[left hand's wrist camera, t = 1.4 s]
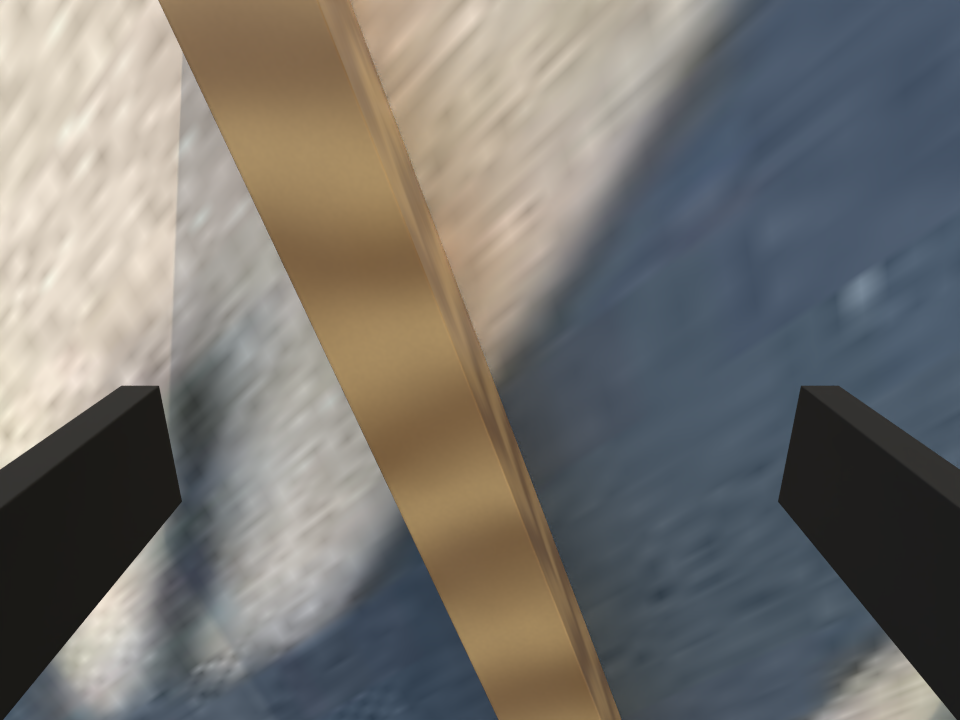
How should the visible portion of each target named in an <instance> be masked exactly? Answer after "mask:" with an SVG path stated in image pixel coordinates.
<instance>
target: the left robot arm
mask: <svg viewBox="0 0 960 720" xmlns="http://www.w3.org/2000/svg"><path fill="white" fill-rule="evenodd" d="M181 502H182V500H181V495H180V490H179V485H178V480H177V475H176V469H175V464H174V459H173V454H172V449H171V444H170V439H169V434H168V429H167V424H166V419H165V414H164V409H163V404H162V399H161V394H160V389H159V386H120V387H119V388H118V389H116V390H115V391H113V392H112V393H110V394H109V395H107V396H106V397H105V398H103V399H102V400H100V401H99V402H97V403H96V404H94V405H93V406H92V407H90V408H89V409H87V410H86V411H84V412H83V413H81V414H80V415H79V416H77V417H76V418H74V419H73V420H71V421H70V422H68V423H67V424H66V425H64V426H63V427H61V428H60V429H58V430H57V431H55V432H54V433H53V434H51V435H50V436H48V437H47V438H45V439H44V440H42V441H41V442H40V443H38V444H37V445H35V446H34V447H32V448H31V449H29V450H28V451H27V452H25V453H24V454H22V455H21V456H19V457H18V458H16V459H15V460H14V461H12V462H11V463H9V464H8V465H6V466H5V467H3V468H2V469H0V720H3V719H4V718H5V717H6V715H7V714H8V713H9V712H10V711H11V709H12V708H13V707H14V706H15V705H16V703H17V702H18V701H19V700H20V698H21V697H22V696H23V695H24V694H25V692H26V691H27V690H28V689H29V687H30V686H31V685H32V684H33V683H34V681H35V680H36V679H37V678H38V676H39V675H40V674H41V673H42V672H43V670H44V669H45V668H46V667H47V665H48V664H49V663H50V662H51V661H52V659H53V658H54V657H55V656H56V654H57V653H58V652H59V651H60V650H61V648H62V647H63V646H64V645H65V644H66V642H67V641H68V640H69V639H70V637H71V636H72V635H73V634H74V633H75V631H76V630H77V629H78V628H79V626H80V625H81V624H82V623H83V622H84V620H85V619H86V618H87V617H88V615H89V614H90V613H91V612H92V611H93V609H94V608H95V607H96V606H97V604H98V603H99V602H100V601H101V600H102V598H103V597H104V596H105V595H106V593H107V592H108V591H109V590H110V589H111V587H112V586H113V585H114V584H115V583H116V581H117V580H118V579H119V578H120V576H121V575H122V574H123V573H124V572H125V570H126V569H127V568H128V567H129V565H130V564H131V563H132V562H133V561H134V559H135V558H136V557H137V556H138V554H139V553H140V552H141V551H142V550H143V548H144V547H145V546H146V545H147V543H148V542H149V541H150V540H151V539H152V537H153V536H154V535H155V534H156V532H157V531H158V530H159V529H160V528H161V526H162V525H163V524H164V523H165V522H166V520H167V519H168V518H169V517H170V515H171V514H172V513H173V512H174V511H175V509H176V508H177V507H178V506H179V504H180V503H181ZM778 502H779V503H780V504H781V506H782V507H783V508H784V509H785V511H786V512H787V513H788V514H789V515H790V517H791V518H792V519H793V520H794V522H795V523H796V524H797V525H798V526H799V528H800V529H801V530H802V531H803V532H804V534H805V535H806V536H807V537H808V539H809V540H810V541H811V542H812V543H813V545H814V546H815V547H816V548H817V550H818V551H819V552H820V553H821V554H822V556H823V557H824V558H825V559H826V561H827V562H828V563H829V564H830V565H831V567H832V568H833V569H834V570H835V572H836V573H837V574H838V575H839V576H840V578H841V579H842V580H843V581H844V583H845V584H846V585H847V586H848V587H849V589H850V590H851V591H852V592H853V593H854V595H855V596H856V597H857V598H858V600H859V601H860V602H861V603H862V604H863V606H864V607H865V608H866V609H867V611H868V612H869V613H870V614H871V615H872V617H873V618H874V619H875V620H876V622H877V623H878V624H879V625H880V626H881V628H882V629H883V630H884V631H885V633H886V634H887V635H888V636H889V637H890V639H891V640H892V641H893V642H894V644H895V645H896V646H897V647H898V648H899V650H900V651H901V652H902V653H903V654H904V656H905V657H906V658H907V659H908V661H909V662H910V663H911V664H912V665H913V667H914V668H915V669H916V670H917V672H918V673H919V674H920V675H921V676H922V678H923V679H924V680H925V681H926V683H927V684H928V685H929V686H930V687H931V689H932V690H933V691H934V692H935V694H936V695H937V696H938V697H939V698H940V700H941V701H942V702H943V703H944V705H945V706H946V707H947V708H948V709H949V711H950V712H951V713H952V714H953V715H954V717H955V718H956V719H957V720H960V469H958V468H957V467H955V466H954V465H952V464H951V463H949V462H948V461H946V460H945V459H944V458H942V457H941V456H939V455H938V454H936V453H935V452H933V451H932V450H931V449H929V448H928V447H926V446H925V445H923V444H922V443H920V442H919V441H918V440H916V439H915V438H913V437H912V436H910V435H909V434H907V433H906V432H905V431H903V430H902V429H900V428H899V427H897V426H896V425H894V424H893V423H892V422H890V421H889V420H887V419H886V418H884V417H883V416H881V415H880V414H879V413H877V412H876V411H874V410H873V409H871V408H870V407H868V406H867V405H866V404H864V403H863V402H861V401H860V400H858V399H857V398H855V397H854V396H853V395H851V394H850V393H848V392H847V391H845V390H844V389H842V388H841V387H840V386H801V389H800V394H799V399H798V404H797V409H796V414H795V419H794V424H793V429H792V434H791V439H790V444H789V449H788V454H787V459H786V464H785V469H784V474H783V480H782V485H781V490H780V495H779V500H778Z"/></svg>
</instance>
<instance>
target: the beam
mask: <svg viewBox="0 0 960 720" xmlns="http://www.w3.org/2000/svg"><path fill="white" fill-rule="evenodd" d="M159 3H160V5H161V7H162V9H163V11H164V13H165V15H166V17H167V19H168V22H169V24H170V26H171V28H172V30H173V32H174V34H175V36H176V38H177V41H178V43H179V45H180V47H181V49H182V51H183V53H184V55H185V58H186V60H187V62H188V64H189V66H190V68H191V70H192V72H193V74H194V77H195V79H196V81H197V83H198V85H199V87H200V89H201V91H202V93H203V96H204V98H205V100H206V102H207V104H208V106H209V108H210V110H211V113H212V115H213V117H214V119H215V121H216V123H217V125H218V127H219V129H220V132H221V134H222V136H223V138H224V140H225V142H226V144H227V146H228V149H229V151H230V153H231V155H232V157H233V159H234V161H235V163H236V165H237V168H238V170H239V172H240V174H241V176H242V178H243V180H244V182H245V184H246V187H247V189H248V191H249V193H250V195H251V197H252V199H253V201H254V204H255V206H256V208H257V210H258V212H259V214H260V216H261V218H262V220H263V223H264V225H265V227H266V229H267V231H268V233H269V235H270V237H271V239H272V242H273V244H274V246H275V248H276V250H277V252H278V254H279V256H280V259H281V261H282V263H283V265H284V267H285V269H286V271H287V273H288V275H289V278H290V280H291V282H292V284H293V286H294V288H295V290H296V292H297V295H298V297H299V299H300V301H301V303H302V305H303V307H304V309H305V311H306V314H307V316H308V318H309V320H310V322H311V324H312V326H313V328H314V330H315V333H316V335H317V337H318V339H319V341H320V343H321V345H322V347H323V350H324V352H325V354H326V356H327V358H328V360H329V362H330V364H331V366H332V369H333V371H334V373H335V375H336V377H337V379H338V381H339V383H340V385H341V388H342V390H343V392H344V394H345V396H346V398H347V400H348V402H349V405H350V407H351V409H352V411H353V413H354V415H355V417H356V419H357V421H358V424H359V426H360V428H361V430H362V432H363V434H364V436H365V438H366V441H367V443H368V445H369V447H370V449H371V451H372V453H373V455H374V457H375V460H376V462H377V464H378V466H379V468H380V470H381V472H382V474H383V476H384V479H385V481H386V483H387V485H388V487H389V489H390V491H391V493H392V496H393V498H394V500H395V502H396V504H397V506H398V508H399V510H400V512H401V515H402V517H403V519H404V521H405V523H406V525H407V527H408V529H409V531H410V534H411V536H412V538H413V540H414V542H415V544H416V546H417V548H418V551H419V553H420V555H421V557H422V559H423V561H424V563H425V565H426V567H427V570H428V572H429V574H430V576H431V578H432V580H433V582H434V584H435V587H436V589H437V591H438V593H439V595H440V597H441V599H442V601H443V603H444V606H445V608H446V610H447V612H448V614H449V616H450V618H451V620H452V622H453V625H454V627H455V629H456V631H457V633H458V635H459V637H460V639H461V642H462V644H463V646H464V648H465V650H466V652H467V654H468V656H469V658H470V661H471V663H472V665H473V667H474V669H475V671H476V673H477V675H478V677H479V680H480V682H481V684H482V686H483V688H484V690H485V692H486V694H487V697H488V699H489V701H490V703H491V705H492V707H493V709H494V711H495V713H496V716H497V718H498V720H621V717H620V714H619V712H618V709H617V706H616V704H615V701H614V699H613V696H612V693H611V691H610V688H609V685H608V683H607V680H606V677H605V675H604V672H603V669H602V667H601V664H600V662H599V659H598V656H597V654H596V651H595V648H594V646H593V643H592V640H591V638H590V635H589V632H588V630H587V627H586V624H585V622H584V619H583V617H582V614H581V611H580V609H579V606H578V603H577V601H576V598H575V595H574V593H573V590H572V587H571V585H570V582H569V580H568V577H567V574H566V572H565V569H564V566H563V564H562V561H561V558H560V556H559V553H558V550H557V548H556V545H555V543H554V540H553V537H552V535H551V532H550V529H549V527H548V524H547V521H546V519H545V516H544V513H543V511H542V508H541V505H540V503H539V500H538V498H537V495H536V492H535V490H534V487H533V484H532V482H531V479H530V476H529V474H528V471H527V468H526V466H525V463H524V461H523V458H522V455H521V453H520V450H519V447H518V445H517V442H516V439H515V437H514V434H513V431H512V429H511V426H510V423H509V421H508V418H507V416H506V413H505V410H504V408H503V405H502V402H501V400H500V397H499V394H498V392H497V389H496V386H495V384H494V381H493V379H492V376H491V373H490V371H489V368H488V365H487V363H486V360H485V357H484V355H483V352H482V349H481V347H480V344H479V341H478V339H477V336H476V334H475V331H474V328H473V326H472V323H471V320H470V318H469V315H468V312H467V310H466V307H465V304H464V302H463V299H462V297H461V294H460V291H459V289H458V286H457V283H456V281H455V278H454V275H453V273H452V270H451V267H450V265H449V262H448V259H447V257H446V254H445V252H444V249H443V246H442V244H441V241H440V238H439V236H438V233H437V230H436V228H435V225H434V222H433V220H432V217H431V215H430V212H429V209H428V207H427V204H426V201H425V199H424V196H423V193H422V191H421V188H420V185H419V183H418V180H417V177H416V175H415V172H414V170H413V167H412V164H411V162H410V159H409V156H408V154H407V151H406V148H405V146H404V143H403V140H402V138H401V135H400V133H399V130H398V127H397V125H396V122H395V119H394V117H393V114H392V111H391V109H390V106H389V103H388V101H387V98H386V95H385V93H384V90H383V88H382V85H381V82H380V80H379V77H378V74H377V72H376V69H375V66H374V64H373V61H372V58H371V56H370V53H369V51H368V48H367V45H366V43H365V40H364V37H363V35H362V32H361V29H360V27H359V24H358V21H357V19H356V16H355V13H354V11H353V8H352V6H351V3H350V0H159Z"/></svg>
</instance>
